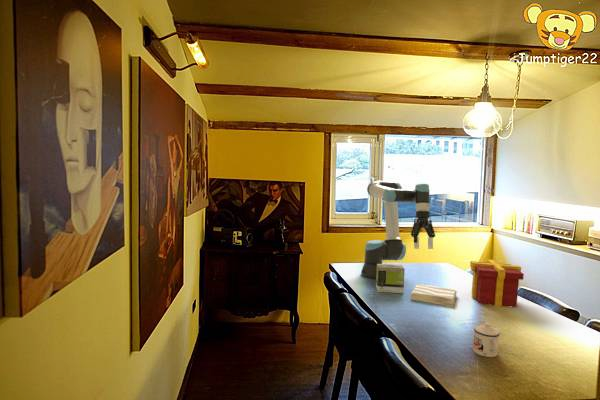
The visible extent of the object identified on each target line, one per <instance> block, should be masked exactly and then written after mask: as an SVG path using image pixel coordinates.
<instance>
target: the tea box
mask: <svg viewBox="0 0 600 400" xmlns="http://www.w3.org/2000/svg"><path fill="white" fill-rule="evenodd" d="M375 288H376V292H377V293H378V292H379V293H390V294H391V293H392V294H394V293H395V294H404V290H405V289H404V288H405V268H404V266H403V265H402V264H392V263H391V264H389V263H388V264H387V263H382V264H377V273H376V279H375Z"/></svg>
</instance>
